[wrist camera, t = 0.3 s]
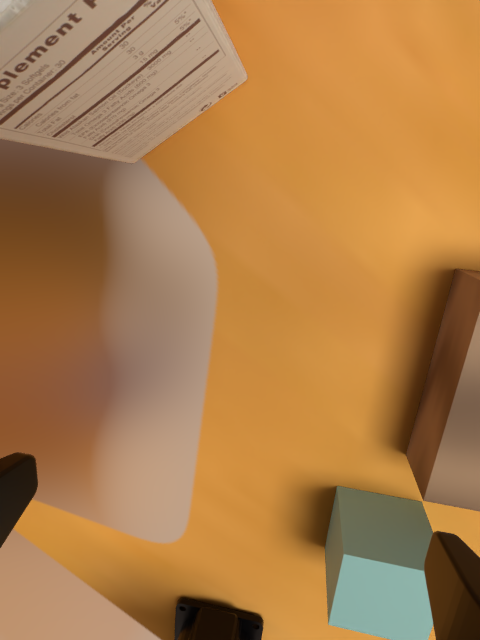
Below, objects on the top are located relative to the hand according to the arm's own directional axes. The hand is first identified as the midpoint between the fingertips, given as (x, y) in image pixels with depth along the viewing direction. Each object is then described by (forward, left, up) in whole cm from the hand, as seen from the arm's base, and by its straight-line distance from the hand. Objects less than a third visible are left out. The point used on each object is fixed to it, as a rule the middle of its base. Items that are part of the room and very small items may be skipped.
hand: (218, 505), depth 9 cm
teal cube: (-13, -8, -14) cm, 20 cm away
